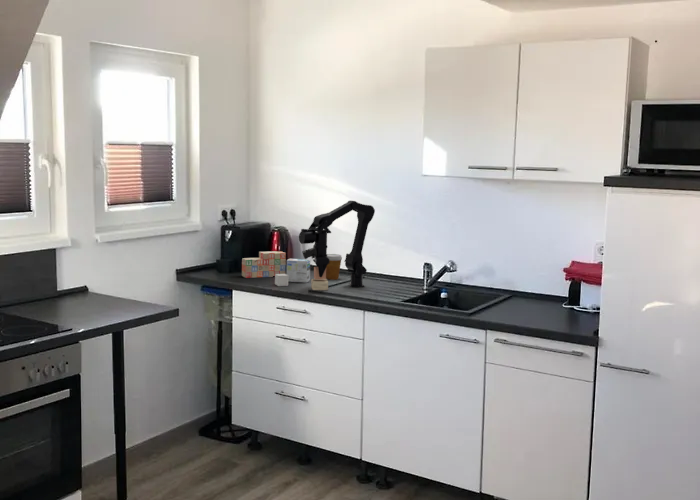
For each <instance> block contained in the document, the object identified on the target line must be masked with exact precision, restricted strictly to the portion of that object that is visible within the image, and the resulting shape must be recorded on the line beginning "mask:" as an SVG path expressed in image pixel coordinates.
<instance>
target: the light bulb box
mask: <svg viewBox="0 0 700 500" xmlns="http://www.w3.org/2000/svg"><path fill="white" fill-rule="evenodd" d="M285 274H286V275H288V282H289V283H290V282H291V283H292V282H294V283H308V282H309V281H311V259H308V258H307V259H305V258H288V259H286V272H285Z"/></svg>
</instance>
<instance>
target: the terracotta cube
mask: <svg viewBox="0 0 700 500" xmlns="http://www.w3.org/2000/svg"><path fill="white" fill-rule="evenodd" d="M313 279H326V269H325V271H324V273H323V276H322V277H319V270H318V267H316V266H314V267H313Z"/></svg>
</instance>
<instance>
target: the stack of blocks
mask: <svg viewBox="0 0 700 500" xmlns="http://www.w3.org/2000/svg"><path fill="white" fill-rule="evenodd" d="M286 254H287V253H286V252H283V251H276V250H273V251H272V250H271V251H258V257H244V258H243V257H242V259H241V276H242V277H243V278H246V279H250V278H271V277H272V278H273V276H275V274H286V268H287V259H286V258H287V257H286V256H287V255H286Z"/></svg>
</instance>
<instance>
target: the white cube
mask: <svg viewBox="0 0 700 500" xmlns="http://www.w3.org/2000/svg"><path fill="white" fill-rule="evenodd" d="M274 285H276V286H277V287H288V286H289V281H288V275H286V273H285V274H275V277H274Z"/></svg>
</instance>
